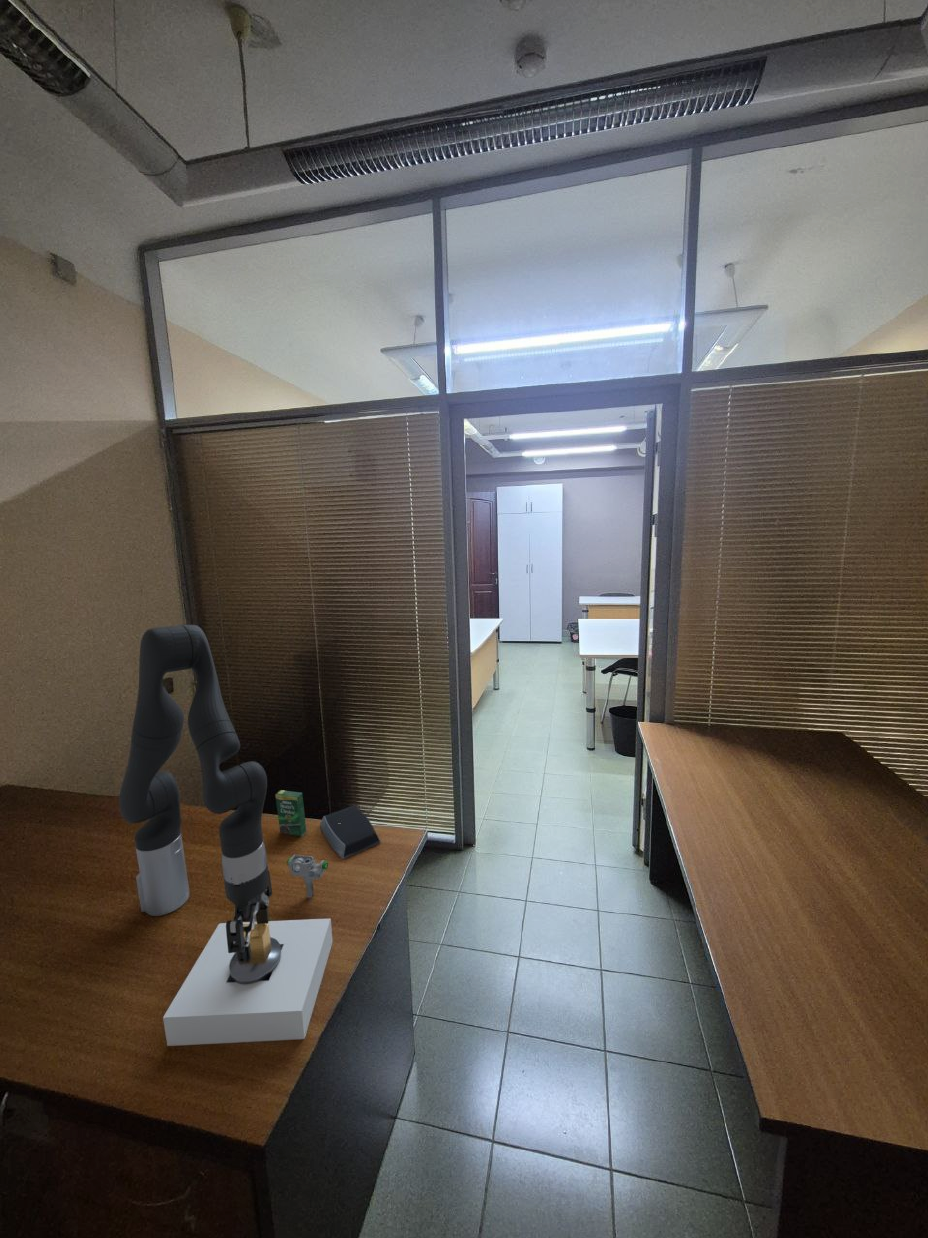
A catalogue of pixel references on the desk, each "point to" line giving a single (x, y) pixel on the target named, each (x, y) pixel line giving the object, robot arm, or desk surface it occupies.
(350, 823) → the external hard drive
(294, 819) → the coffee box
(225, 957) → the housing
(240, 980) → the end cap
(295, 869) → the mechanical component
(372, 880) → the desk surface
